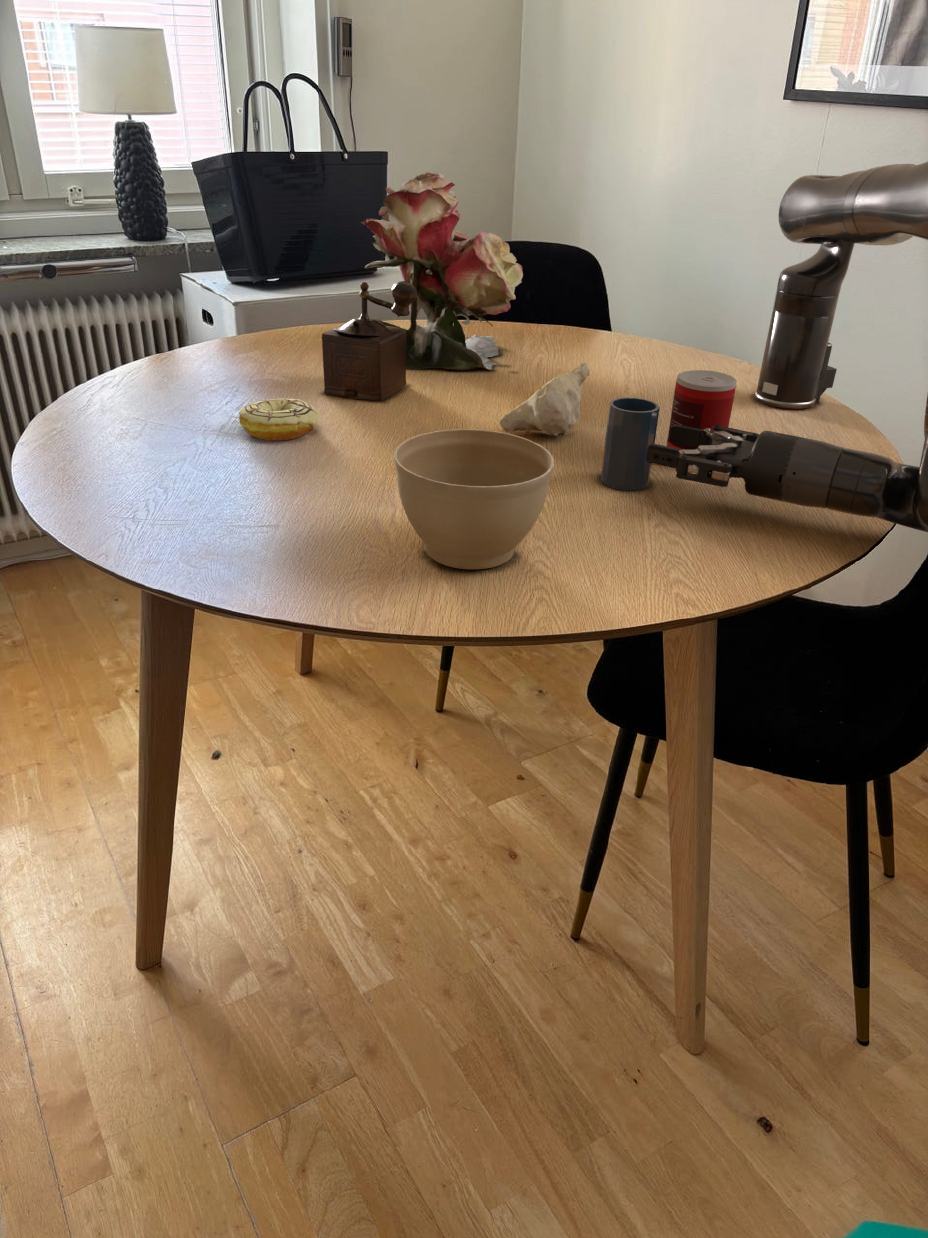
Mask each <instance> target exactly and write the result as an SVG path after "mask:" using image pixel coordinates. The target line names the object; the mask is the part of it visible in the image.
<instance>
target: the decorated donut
mask: <svg viewBox="0 0 928 1238" xmlns="http://www.w3.org/2000/svg"><path fill="white" fill-rule="evenodd" d="M238 414H239V416H238V420H239V424H240V425H241V427H242V428H243V430H244V431H245V432H246V433H247V434H248V435H250V436H251V437H254V438H256V439H260V440H265V441H270V442H271V441H278V440H279V441H280V440H282V441H286V440H292V439H293V440H294V439H298V438H300V437H303V436H305V435H307V434H308V433H310V432H312V431H313V429H314V428H316V427H317V425H318V424H319V413H318V411H317V408H315V406H313V405H311V404H310V403H309V402H306V401H304V400H301V399H299V398H298V399H297V398H269V399H261V400H256V401H252V402H250V403H248V404H245V405H244V406H243V407H241V408H240V410H239V412H238Z"/></svg>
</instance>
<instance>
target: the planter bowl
mask: <svg viewBox="0 0 928 1238" xmlns="http://www.w3.org/2000/svg"><path fill="white" fill-rule="evenodd" d="M393 457H394V459H393V461H394V466H395V469H396V481H397V490H398V495H399V498H400V502H401V505H402V508H403V511H404V513H405V515H406V517H407V519H408V521H409V523H410V525H411V527H412V528H413V530H414V531H415V533H416V534H417V536H418V537H419V539H421V541H422V542H423V546H424V550H425V553H426V554H427V556H428V557H430V558H431V559H432V560H433V561H435V562H437V563H438V564H441V565H442V566H443V565H444V566H446V567H449V568H455V569H459V570H461V569H462V570H485V569H492V568H496V567H499V566H501V565H504V564H505V563H507V562H508V561H510V560H511V559H512V557H513V556H514V553H515V549H516V547H517V546H518V545H519V544H520V543H521V542H522V541H523V540H524V539H525V537H527V535H528V534H529V533H530V531H531V530H532V528H533V527H534V525H535V524H536V522H537V521H538V519H539V516H541V515H540V514H541V513H542V510H543V508H544V506H545V503H546V499H547V496H548V493H549V488H550V487H549V486H550V480H551V477H552V475H553V471H554V467H555V466H554V465H555V459H554V457H553V455H552V454H551V452H550V451H549V450H548V449H546V448H545V447H544V446H542V445H540V444H538V443H536V442H534V441H532V440H530V439H528V438H526V437H522V436H519V435H516V434H512V433H509V432H502V431H498V430H497V431H495V430H488V429H476V428H475V429H474V428H455V429H451V428H450V429H443V430H442V429H441V430H436V431H431V432H425V433H420V434H417V435H415V436H412V437H409V438H407V439H405V440H403V441H402V442H400V443H399V444H398V445H397V447H396V448H395V449H394V454H393Z"/></svg>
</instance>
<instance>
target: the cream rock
mask: <svg viewBox="0 0 928 1238" xmlns="http://www.w3.org/2000/svg"><path fill="white" fill-rule="evenodd" d="M590 371H591V370H590V369H589V366H588V363H587V362H580V363H579V365H578V366H576V367H575V368H574V369H572V370H571V371H570V370H569V371H568V372H566V373H564V374H558V375H556V376H555V377H554V378H552V379H551V380H549V381H547V382H546V383H545V384H543V386H541V388H540V389H537V390H536V391H535V392H534V393H533V394H532V395H530V397H529V398H528V399H526V400H524V401H523V402H522V403H521V404H519V405H518V406H516V407H513V408H512V409H511V410H509V411H508V412H507V413H506V414H504V415H503V416H502V417H501V419H500V420H499V421H498V422H499V426H500V427H501V429H502V431H504V432H505V433H510V434H512V433H514V432H517V431H519V432H525V431H537V432H546V433H548V434H551V435H553V436H555V437H557V436H558V435H560V433H561V434H562V435H566V434H568V432H569V430H570V429H571V427H573V426H574V425H575V424H577V423H578V421H579V420H580V419H581V415H582V414H581V412H580V406H581V403H582V397H583V395H584V392H583V388H582V387H583V385H584V382H585V381H586V380H587V377H589V376H590Z"/></svg>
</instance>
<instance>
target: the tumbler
mask: <svg viewBox="0 0 928 1238" xmlns="http://www.w3.org/2000/svg"><path fill="white" fill-rule="evenodd" d="M660 409H661V407H660V405H659V403H657V402H656V401H653V400H650V399H646V398H639V397H628V396H627V397H625V396H624V397H617V398H614V399H611V401H609V404H608V413H607V420H606V421H607V422H606V430H605V437H604V438H605V439H604V447H603V456H602V465H601V473H600V474H601V475H600V481H601V483H603V485H605V486H606V487H609V488H612V489H614V490H620V491H639V490H643V489H645V488H647V487H648V485H649V482H650V479H651V471H652V465H653V464H652V463H648V462H647V460H646V456H647V449H648V447H649V446H650V445H651V444H656V436H657V430H658V423H659V416H660Z"/></svg>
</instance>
